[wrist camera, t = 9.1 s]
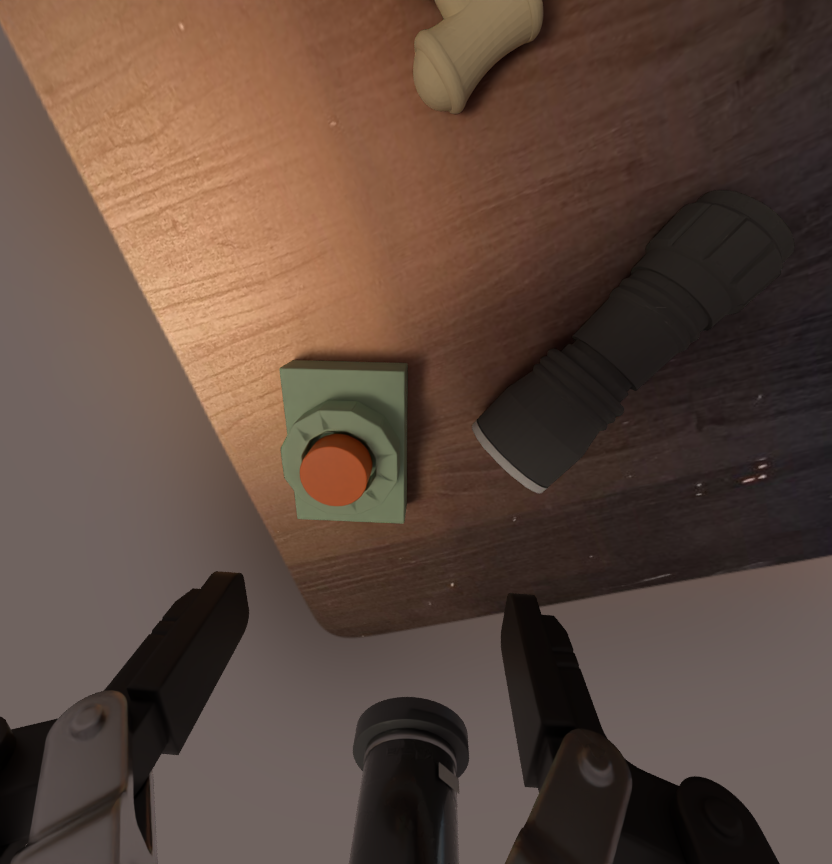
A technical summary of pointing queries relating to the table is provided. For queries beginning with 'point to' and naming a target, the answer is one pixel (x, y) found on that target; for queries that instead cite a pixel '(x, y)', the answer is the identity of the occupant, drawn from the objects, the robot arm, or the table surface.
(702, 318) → the flashlight
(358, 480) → the button
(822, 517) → the table surface
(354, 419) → the green button base
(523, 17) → the door knob
